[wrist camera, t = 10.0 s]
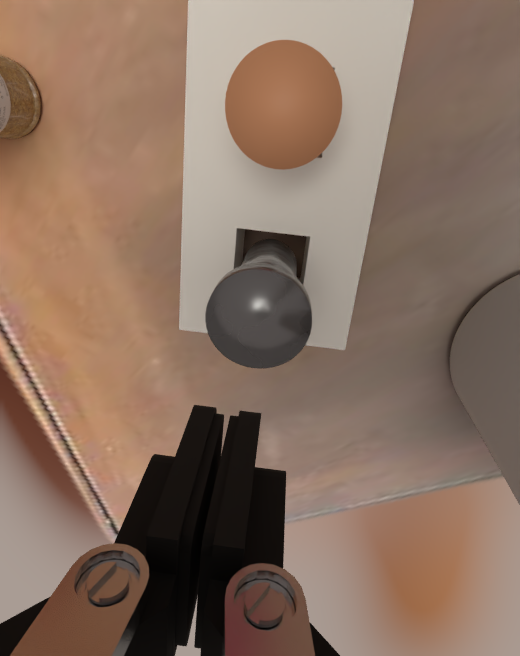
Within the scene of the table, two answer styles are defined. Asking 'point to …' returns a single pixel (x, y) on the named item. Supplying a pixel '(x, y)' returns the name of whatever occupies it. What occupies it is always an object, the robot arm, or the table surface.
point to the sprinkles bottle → (17, 100)
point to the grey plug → (260, 308)
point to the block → (298, 183)
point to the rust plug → (283, 104)
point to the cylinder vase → (492, 374)
